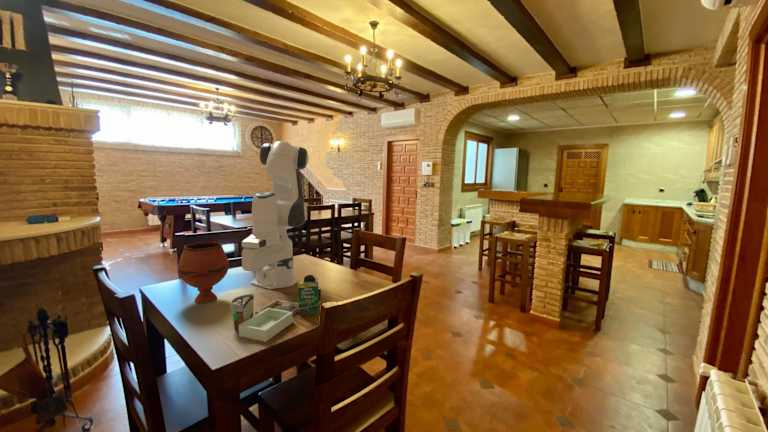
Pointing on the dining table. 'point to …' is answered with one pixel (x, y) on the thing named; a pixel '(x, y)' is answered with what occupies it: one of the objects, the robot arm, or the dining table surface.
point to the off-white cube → (268, 276)
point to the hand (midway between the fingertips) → (267, 276)
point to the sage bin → (265, 324)
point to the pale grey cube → (286, 307)
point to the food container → (242, 309)
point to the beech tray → (278, 303)
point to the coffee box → (308, 298)
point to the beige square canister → (313, 279)
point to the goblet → (203, 268)
